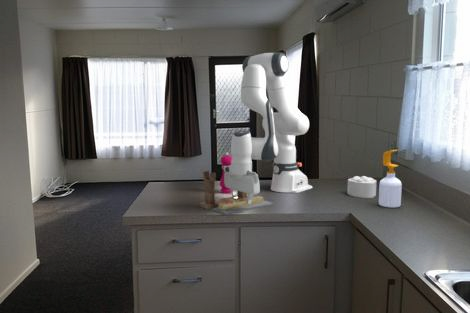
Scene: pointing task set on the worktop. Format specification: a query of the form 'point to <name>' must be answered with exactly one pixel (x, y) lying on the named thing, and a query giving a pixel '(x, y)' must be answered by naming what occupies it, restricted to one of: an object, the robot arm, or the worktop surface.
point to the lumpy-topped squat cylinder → (362, 187)
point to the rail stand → (210, 192)
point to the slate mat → (243, 208)
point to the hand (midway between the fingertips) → (241, 201)
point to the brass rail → (239, 203)
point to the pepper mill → (226, 162)
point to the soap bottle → (390, 185)
